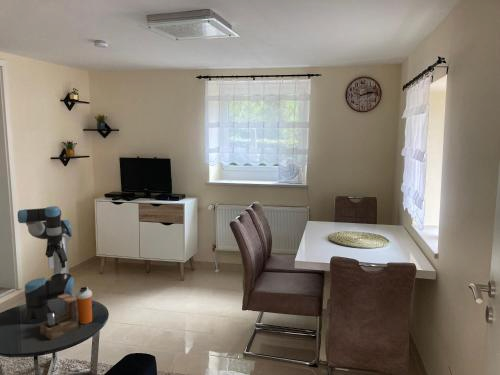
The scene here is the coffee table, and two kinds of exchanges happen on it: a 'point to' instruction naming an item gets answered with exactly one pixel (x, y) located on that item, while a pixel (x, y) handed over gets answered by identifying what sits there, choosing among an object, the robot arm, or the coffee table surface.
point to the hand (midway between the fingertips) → (57, 270)
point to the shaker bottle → (84, 305)
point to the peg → (51, 319)
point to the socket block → (63, 319)
